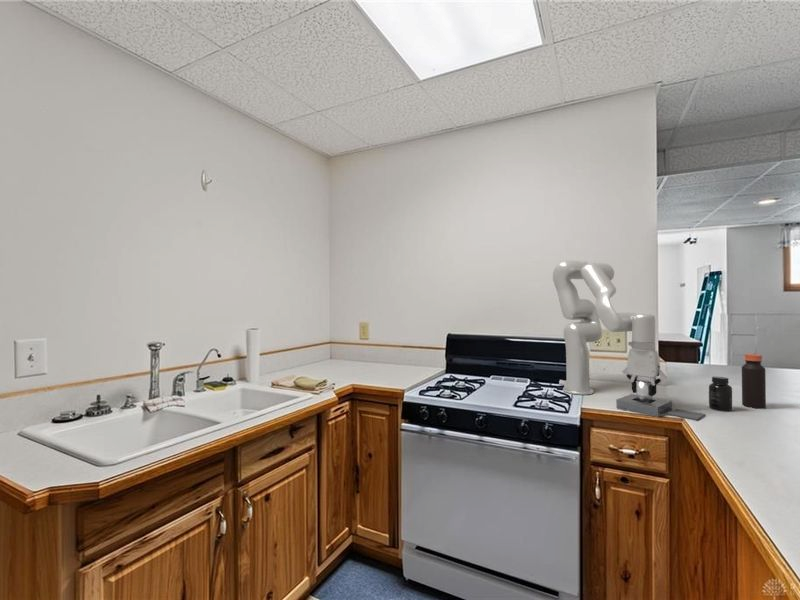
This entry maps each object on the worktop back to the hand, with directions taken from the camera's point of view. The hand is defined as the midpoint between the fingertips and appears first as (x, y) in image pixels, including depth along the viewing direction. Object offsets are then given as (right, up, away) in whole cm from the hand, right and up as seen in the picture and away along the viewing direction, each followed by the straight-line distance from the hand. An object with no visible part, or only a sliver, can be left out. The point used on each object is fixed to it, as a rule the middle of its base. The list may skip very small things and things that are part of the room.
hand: (643, 393), depth 147 cm
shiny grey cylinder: (0, -5, 0) cm, 5 cm away
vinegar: (+44, -6, +2) cm, 44 cm away
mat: (+10, -6, -8) cm, 14 cm away
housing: (0, -6, 0) cm, 6 cm away
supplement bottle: (+28, -6, -1) cm, 29 cm away
